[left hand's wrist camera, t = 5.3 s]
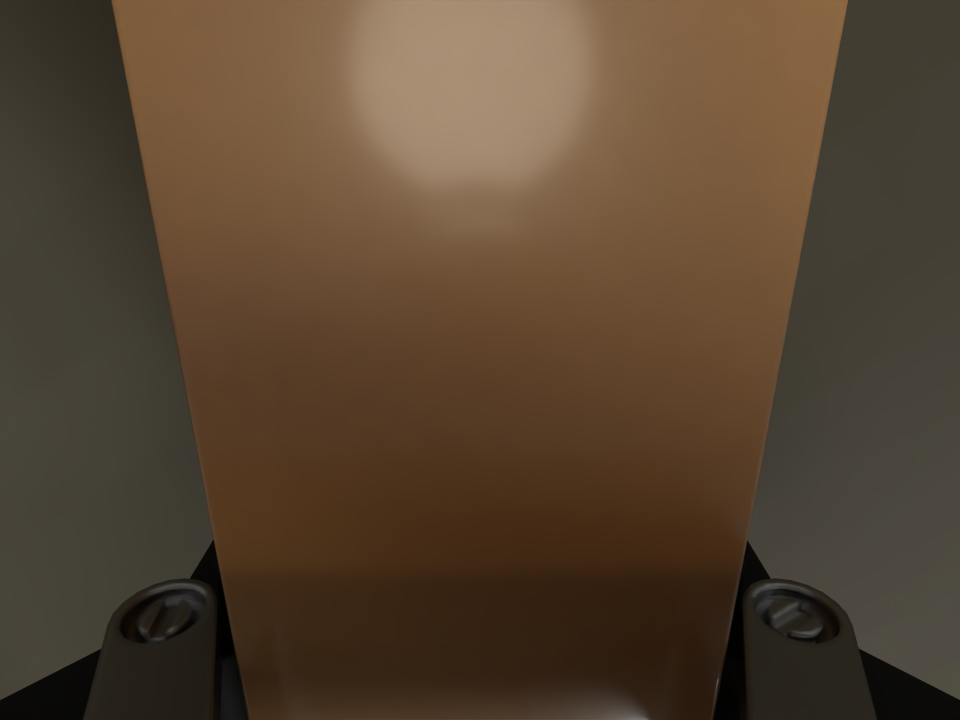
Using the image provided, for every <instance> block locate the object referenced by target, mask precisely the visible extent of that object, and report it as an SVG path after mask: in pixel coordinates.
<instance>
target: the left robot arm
mask: <svg viewBox="0 0 960 720" xmlns="http://www.w3.org/2000/svg"><path fill="white" fill-rule="evenodd" d="M0 720H248V717H247V711H246V706H245V701H244V696H243V690H242V685H241V680H240V675H239V669H238V664H237V659H236V653H235V648H234V643H233V638H232V632H231V627H230V622H229V617H228V611H227V606H226V601H225V596H224V590H223V585H222V580H221V574H220V569H219V564H218V559H217V553H216V548H215V543H214V540H213V541H212V543H211V545H210V546H209V548H208V550H207V551H206V553H205V555H204V556H203V558H202V560H201V561H200V563H199V564H198V566H197V568H196V569H195V571H194V573H193V574H192V576H191V578H190V579H185V578H184V579H175V580H168V581H164V582H161V583H158V584H154V585H152V586H149V587H147V588H145V589H143V590H141V591H139V592H137V593H136V594H134V595H133V596H131V597H130V598H129V599H127V600H126V601H124V602H123V603H122V604H121V605H120V607H119V608H118V609H117V610H116V611H115V612H114V613H113V615H112V617H111V619H110V621H109V623H108V626H107V629H106V633H105V637H104V641H103V645H102V649H100V650H98V651H96V652H94V653H92V654H90V655H88V656H86V657H84V658H82V659H80V660H78V661H76V662H74V663H72V664H70V665H68V666H66V667H65V668H63V669H61V670H59V671H57V672H55V673H53V674H51V675H49V676H47V677H45V678H43V679H41V680H39V681H37V682H35V683H33V684H31V685H29V686H27V687H25V688H23V689H21V690H19V691H17V692H15V693H13V694H11V695H10V696H8V697H6V698H4V699H2V700H0ZM714 720H960V700H959V699H957V698H955V697H953V696H951V695H949V694H947V693H945V692H943V691H941V690H939V689H937V688H935V687H933V686H931V685H929V684H927V683H925V682H923V681H921V680H919V679H917V678H915V677H914V676H912V675H910V674H908V673H906V672H904V671H902V670H900V669H898V668H896V667H894V666H892V665H890V664H888V663H886V662H884V661H882V660H880V659H878V658H876V657H874V656H872V655H870V654H868V653H866V652H864V651H862V650H861V649H859V648H858V645H857V641H856V637H855V633H854V629H853V626H852V623H851V621H850V619H849V617H848V615H847V613H846V612H845V611H844V610H843V609H842V608H841V607H840V605H839V604H838V603H837V602H836V601H834V600H833V599H831V598H830V597H829V596H827V595H826V594H824V593H823V592H821V591H819V590H817V589H815V588H813V587H811V586H808V585H806V584H802V583H799V582H796V581H792V580H785V579H776V578H775V579H771V578H770V577H769V575H768V573H767V572H766V570H765V569H764V567H763V565H762V564H761V562H760V560H759V559H758V557H757V555H756V554H755V552H754V550H753V549H752V547H751V546H750V544H749V542H748V541H747V544H746V549H745V554H744V560H743V565H742V570H741V576H740V581H739V586H738V592H737V597H736V602H735V608H734V613H733V618H732V624H731V629H730V634H729V640H728V645H727V651H726V656H725V661H724V667H723V672H722V677H721V683H720V688H719V693H718V699H717V704H716V709H715V715H714Z"/></svg>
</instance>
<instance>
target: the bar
mask: <svg viewBox="0 0 960 720" xmlns="http://www.w3.org/2000/svg"><path fill="white" fill-rule="evenodd" d="M847 3H848V0H112V6H113V11H114V16H115V21H116V27H117V32H118V37H119V42H120V48H121V53H122V58H123V63H124V69H125V74H126V79H127V85H128V90H129V95H130V100H131V106H132V111H133V116H134V121H135V127H136V132H137V137H138V143H139V148H140V153H141V158H142V164H143V169H144V174H145V179H146V185H147V190H148V195H149V200H150V206H151V211H152V216H153V222H154V227H155V232H156V237H157V243H158V248H159V253H160V258H161V264H162V269H163V274H164V279H165V285H166V290H167V295H168V301H169V306H170V311H171V316H172V322H173V327H174V332H175V337H176V343H177V348H178V353H179V358H180V364H181V369H182V374H183V380H184V385H185V390H186V395H187V401H188V406H189V411H190V416H191V422H192V427H193V432H194V437H195V443H196V448H197V453H198V459H199V464H200V469H201V474H202V480H203V485H204V490H205V495H206V501H207V506H208V511H209V516H210V522H211V527H212V532H213V538H214V543H215V548H216V553H217V559H218V564H219V569H220V574H221V580H222V585H223V590H224V596H225V601H226V606H227V611H228V617H229V622H230V627H231V632H232V638H233V643H234V648H235V653H236V659H237V664H238V669H239V675H240V680H241V685H242V690H243V696H244V701H245V706H246V711H247V717H248V720H714V715H715V709H716V704H717V699H718V693H719V688H720V683H721V677H722V672H723V667H724V661H725V656H726V651H727V645H728V640H729V634H730V629H731V624H732V618H733V613H734V608H735V602H736V597H737V592H738V586H739V581H740V576H741V570H742V565H743V560H744V554H745V549H746V544H747V538H748V533H749V527H750V522H751V517H752V511H753V506H754V501H755V495H756V490H757V485H758V479H759V474H760V469H761V463H762V458H763V453H764V447H765V442H766V436H767V431H768V426H769V420H770V415H771V410H772V404H773V399H774V394H775V388H776V383H777V378H778V372H779V367H780V362H781V356H782V351H783V346H784V340H785V335H786V329H787V324H788V319H789V313H790V308H791V303H792V297H793V292H794V287H795V281H796V276H797V271H798V265H799V260H800V255H801V249H802V244H803V238H804V233H805V228H806V222H807V217H808V212H809V206H810V201H811V196H812V190H813V185H814V180H815V174H816V169H817V164H818V158H819V153H820V148H821V142H822V137H823V131H824V126H825V121H826V115H827V110H828V105H829V99H830V94H831V89H832V83H833V78H834V73H835V67H836V62H837V57H838V51H839V46H840V40H841V35H842V30H843V24H844V19H845V14H846V8H847Z"/></svg>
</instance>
